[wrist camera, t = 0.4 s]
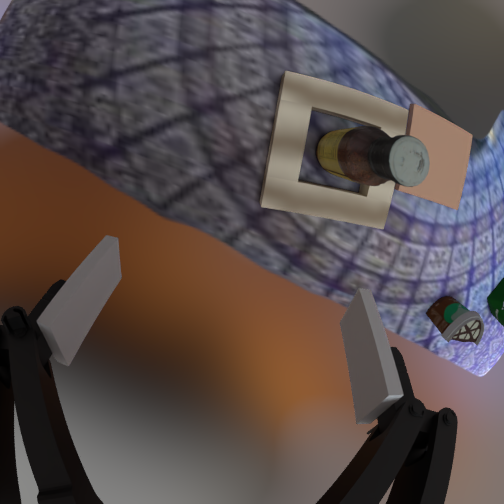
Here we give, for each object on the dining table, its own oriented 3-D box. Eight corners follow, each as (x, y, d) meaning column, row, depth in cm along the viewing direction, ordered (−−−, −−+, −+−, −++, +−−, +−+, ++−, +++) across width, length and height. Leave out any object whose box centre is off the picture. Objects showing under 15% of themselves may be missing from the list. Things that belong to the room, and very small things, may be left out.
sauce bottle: (363, 153, 37) (455, 172, 18) (334, 183, 38) (412, 223, 20) (333, 119, 35) (414, 107, 16) (302, 150, 36) (364, 160, 18)
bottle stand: (282, 75, 32) (285, 70, 29) (398, 111, 34) (408, 110, 31) (259, 202, 39) (261, 206, 36) (374, 223, 41) (383, 229, 38)
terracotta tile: (410, 104, 34) (414, 103, 32) (468, 134, 35) (472, 134, 34) (394, 188, 39) (398, 190, 38) (453, 208, 40) (457, 210, 39)
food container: (467, 296, 48) (494, 320, 38) (454, 319, 50) (478, 345, 41) (435, 285, 46) (464, 312, 37) (421, 312, 48) (446, 342, 39)
